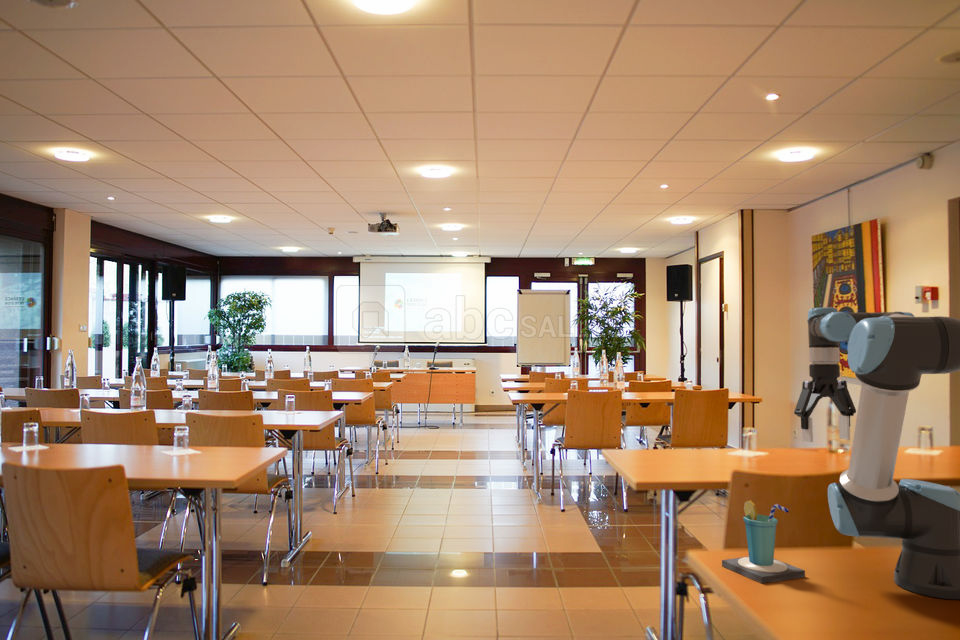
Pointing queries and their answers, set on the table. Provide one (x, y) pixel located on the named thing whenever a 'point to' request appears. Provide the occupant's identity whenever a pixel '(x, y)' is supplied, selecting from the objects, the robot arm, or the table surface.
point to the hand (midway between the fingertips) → (826, 440)
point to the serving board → (763, 570)
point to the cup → (760, 534)
